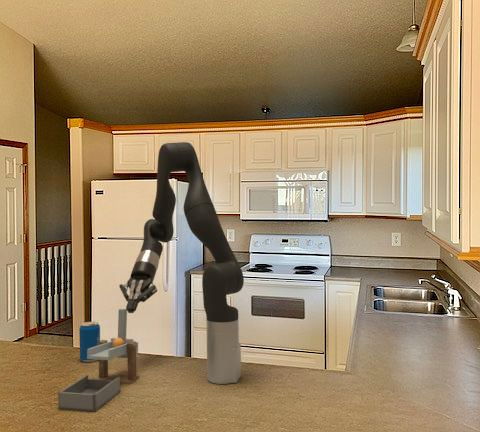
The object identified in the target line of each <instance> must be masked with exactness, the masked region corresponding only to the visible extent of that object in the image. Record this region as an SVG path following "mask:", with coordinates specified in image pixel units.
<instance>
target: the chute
mask: <svg viewBox="0 0 480 432" xmlns="http://www.w3.org/2000/svg"><path fill="white" fill-rule="evenodd" d="M117 319H118V320H117V337H116V338H122V339H123V341H124V345H121V346H118V347H116V348H114V347H113V341H114V340H115V339H116V338H115V337H112V338H110V341H107V343H104V344H101V345H98V346H95V347H92V348H89V349H87V359H98V360H97V361H99V360H108V361H112V360H114V359H116V358H117V359H127V343H129V342H130V341H134V339H133V338H127V325H128V324H127V322H128V321H127V320H128V311H127V309H126V308H120V309H119V308H118V318H117ZM136 344H137V348H136V357H138V356H139V341H136Z"/></svg>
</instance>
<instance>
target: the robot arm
mask: <svg viewBox="0 0 480 432" xmlns="http://www.w3.org/2000/svg"><path fill="white" fill-rule="evenodd" d="M195 149H196V148H195V147H194V146H193V145H192V144H191V143H190V142H188V141H181V142H180V141H179V142H166V143H163V144H162V145H161V146H160V148H159V151H158V156H157V169H156V171H157V172H156V192H155V193H156V194H155V199H154V202H153V203H154V204H153V208H152V214H151V215H152V218H151V219H148V220H146V222H145V223H144V225H143V242H142V246H141V249H140V251H139V253H138V255H137V258H136V260H135V262H134V265H133V267H132V270H131V273H130V277H129V279H128V280H127V281H126V283H124V284H122V283H120V284H119V289H120V291H121V293H122V296H123V297H124V299H125V301H126V302H127V304H126V306H125V309H127V314H128V313H129V314H134V313H135V312H136V310H137V308H138V306H139V303H145V302H146V301H147V300H149V299H150V298H151V297H152V296H154V294H155V295H156V293H157V292H158V288H157V286H156V285H155V284H154V283H153V282H154V279H155V276H156V273H157V271H158V268H159V264H160V259H161V256H162V253H163V250H164V246H163V244H162V243H165V244H166V243H169V242H170V241H171V240H172V239H173V237H174V230H175V229H174V221H173V220H174V219H173V216H174V212H175V208H176V202H177V199H176V194H175V191H174V189H173V188H172V185H171V183H170V175H171V173H178V172H184V173H185V175H186V177H187V181H188V188H187V192H186V195H185V198H184V203H183V213H184V216H185V220H186V222H187V226H189V229H190V231H191V232H192V234H193V235H194V236H195V238H196V239H197V240H198V241H200V242H201V244H203V245H204V247H206V248H207V250H208V251H209V252H210V254H211V255H212V257H213V260H214V262H215V263H213V264H209V265H207V266H206V267H205V268H204V271H203V272H202V279H201V280H202V281H201V282H202V283H201V284H202V285H201V287H202V288H201V289H202V298H203V299H202V301H203V303H202V304H203V308H204V312H205V314H206V315H205V316H206V318H205V319H206V366H207V367H206V370H207V371H206V374H207V375H206V376H207V378H206V379H207V381H208V382H210V383H213V384H217V385H218V384H219V385H226V384H235V383H236V384H237V383H238V382H239V380H240V378H241V377H242V351H241V350H242V347H241V345H242V344H241V343H240V339H239V337H240V334H239V331H240V330H239V329H240V328H239V309H238V308H237V307H235V306H231V305H229V304H228V300H227V299H228V298H227V295H233V294H237V293H239V292H240V291H242V290H243V289H242V288H244V283H245V281H244V280H245V279H244V274H243V270H242V268H241V265H240V263H239V262H238V259H237V257H236V256H235V254H234V251H233V250H232V248H231V246H230V244H229V242H228V239H227V237H226V233H225V231H224V230H223V228H222V225H221V222H220V220H219V217H218V213H217V211H216V209H215V206H214V203H213V201H212V199H211V196H210V193H209V191H208V189H207V185H206V182H205V179H204V176H203V173H202V169H201V165H200V161H199V158H198V155H197V152H196V150H195ZM128 288H129V289H128ZM128 290H129V294H128V293H127V292H128Z"/></svg>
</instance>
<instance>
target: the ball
mask: <svg viewBox="0 0 480 432" xmlns="http://www.w3.org/2000/svg"><path fill="white" fill-rule="evenodd" d="M121 345H124V341H123V339H122V338H118V337H116V339H115V340H114V341H113V347H114V348H116V347H118V346H121Z"/></svg>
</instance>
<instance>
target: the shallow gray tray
mask: <svg viewBox="0 0 480 432" xmlns="http://www.w3.org/2000/svg"><path fill="white" fill-rule="evenodd" d="M120 393H121V383H120V377H117V378H116V379H114V380H100V379H98V378H89V374H86V375H84V376H82V377H81V378H79V379H78V380H75V381H74V382H73V383H71V384H69V385H67V386H66V387H65V388H63V389H62V390H60V391H58V392H57V394H58V395H57V399H58V400H57V401H58V404H57V405H58V406H57V407H58V410H70V411H80V412H83V411H84V412H94V413H95V412H97V411H98V410H99V409H101V408H102V407H103V406H104V405H106V404H107V403H108V402H109V401H111V400H112V399H113V398H115V397H116V396H117V395H118V394H120Z"/></svg>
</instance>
